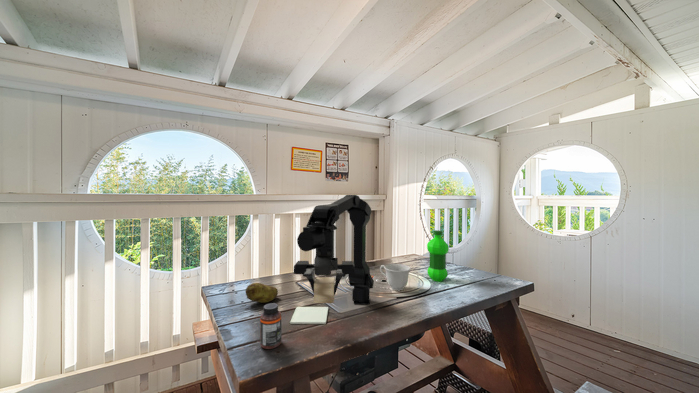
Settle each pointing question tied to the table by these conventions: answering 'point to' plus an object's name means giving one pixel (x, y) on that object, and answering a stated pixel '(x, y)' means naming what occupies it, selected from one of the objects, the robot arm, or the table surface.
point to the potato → (261, 292)
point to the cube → (324, 290)
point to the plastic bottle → (437, 257)
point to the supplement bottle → (270, 326)
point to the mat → (310, 315)
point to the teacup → (396, 275)
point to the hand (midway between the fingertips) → (324, 294)
